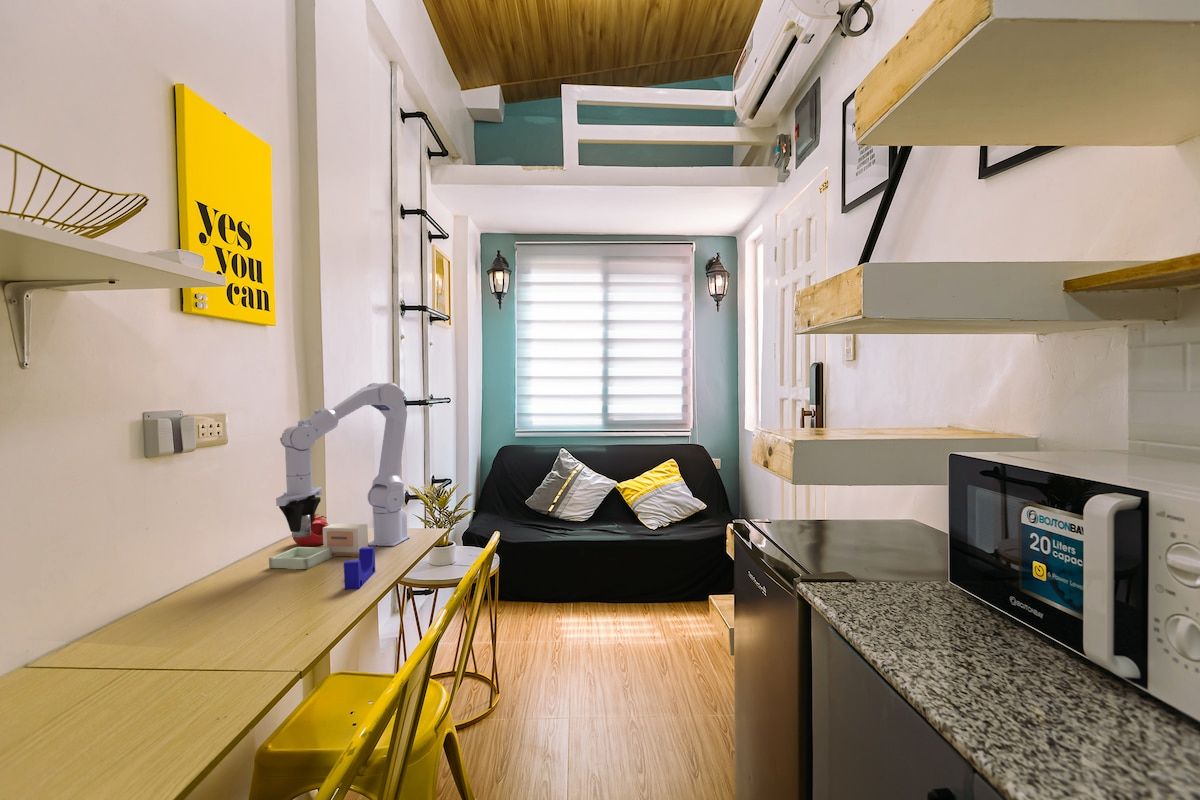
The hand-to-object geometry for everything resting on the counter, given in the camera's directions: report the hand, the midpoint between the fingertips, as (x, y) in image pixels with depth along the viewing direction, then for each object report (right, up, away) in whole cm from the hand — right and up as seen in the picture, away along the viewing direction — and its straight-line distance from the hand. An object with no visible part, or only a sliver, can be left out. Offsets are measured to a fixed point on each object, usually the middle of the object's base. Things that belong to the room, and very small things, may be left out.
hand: (301, 529), depth 151 cm
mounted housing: (+7, -8, +8) cm, 14 cm away
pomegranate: (-6, -8, +19) cm, 21 cm away
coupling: (0, -2, 0) cm, 2 cm away
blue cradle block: (+19, -9, -14) cm, 26 cm away
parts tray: (0, -8, 0) cm, 8 cm away
